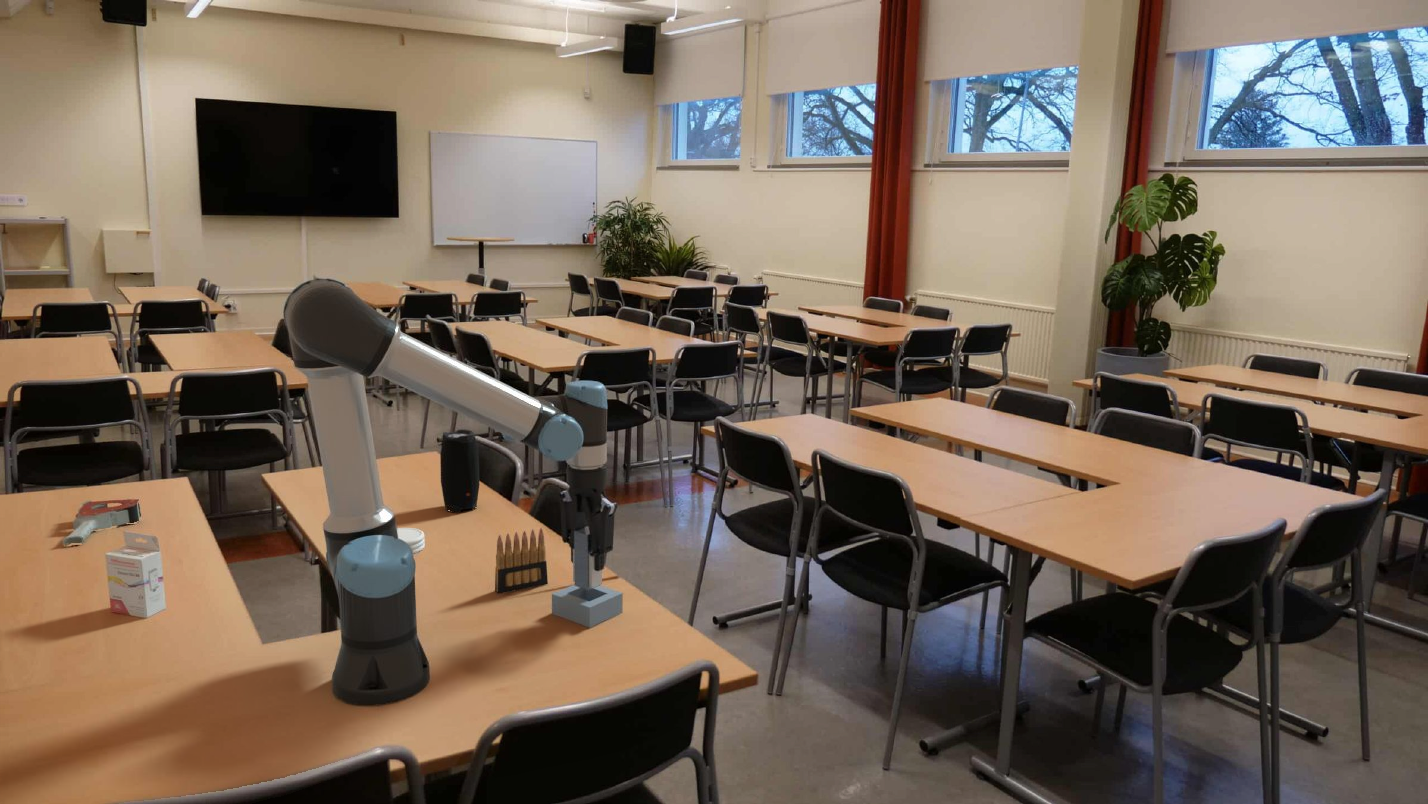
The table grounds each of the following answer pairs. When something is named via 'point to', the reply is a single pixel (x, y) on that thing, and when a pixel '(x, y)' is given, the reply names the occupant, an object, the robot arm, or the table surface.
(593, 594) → the slot block
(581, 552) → the steel pin
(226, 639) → the table surface
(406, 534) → the white ridged disc
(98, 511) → the tape dispenser
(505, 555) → the ammunition clip
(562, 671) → the table surface
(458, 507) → the portable speaker
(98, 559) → the table surface
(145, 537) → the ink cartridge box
